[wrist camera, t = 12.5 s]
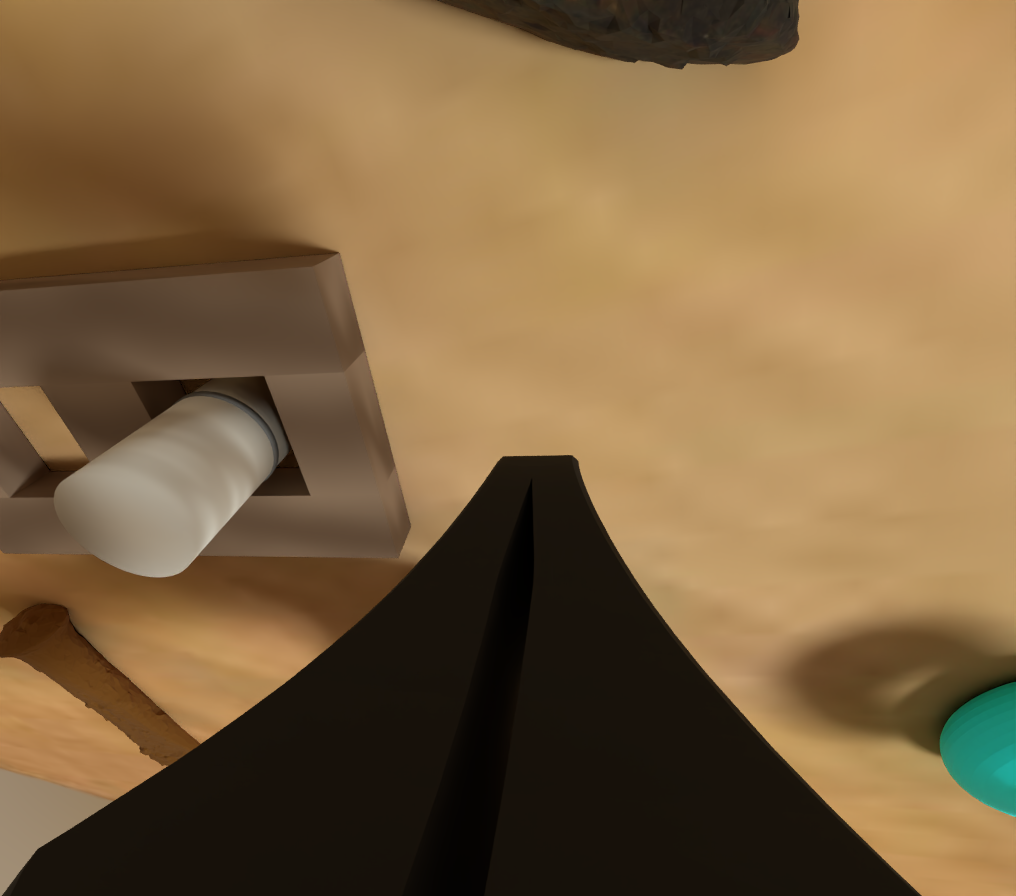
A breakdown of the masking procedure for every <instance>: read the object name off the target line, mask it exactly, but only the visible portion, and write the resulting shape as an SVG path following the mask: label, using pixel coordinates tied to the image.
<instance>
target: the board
mask: <svg viewBox="0 0 1016 896" xmlns="http://www.w3.org/2000/svg"><path fill="white" fill-rule="evenodd" d="M249 376H264V377H265V379H266V382H267V385H268V387H269V390H270V392H271V395H272V397H273V400H274V403H275V405H276V408H277V410H278V413H279V415H280V418H281V421H282V423H283V426H284V428H285V431H286V434H287V436H288V439H289V441H290V444H291V446H292V449H293V452H294V454H295V457H296V459H297V462H298V464H299V467H300V468H276V469H275V470H274V472H273V473H272V474H271V475H270V476H269V478H268V479H266V480H265V481H264V482H263V483H261V485H260V486H259V487H258V488H257V489H256V490H255V491H254V492H253V494H252V495H251V496H250V497H249V498H248V499H247V500H246V501H245V503H244V504H243V505H242V506H241V507H240V508H239V509H238V510H237V512H236V513H235V514H234V515H233V516H232V517H231V518H230V520H229V521H228V522H227V523H226V524H225V525H224V526H223V527H222V529H221V530H220V531H219V532H218V533H217V534H216V535H215V536H214V538H213V539H212V540H211V541H210V542H209V543H208V544H207V545H206V547H205V548H204V549H203V550H202V551H201V552H200V553H199V554H198V556H261V557H343V558H399V555H400V553H401V550H402V548H403V545H404V543H405V540H406V538H407V535H408V533H409V531H410V528H411V525H410V521H409V517H408V513H407V509H406V506H405V502H404V498H403V494H402V490H401V486H400V483H399V479H398V475H397V471H396V467H395V463H394V460H393V456H392V452H391V448H390V444H389V440H388V437H387V433H386V429H385V425H384V421H383V417H382V414H381V410H380V406H379V402H378V398H377V394H376V391H375V387H374V383H373V379H372V375H371V371H370V368H369V364H368V360H367V356H366V352H365V349H364V345H363V341H362V337H361V333H360V329H359V326H358V322H357V318H356V314H355V310H354V306H353V303H352V299H351V295H350V291H349V287H348V283H347V280H346V276H345V272H344V268H343V264H342V260H341V257H340V253H333V254H320V255H308V256H296V257H283V258H271V259H259V260H246V261H234V262H222V263H209V264H197V265H185V266H173V267H160V268H148V269H136V270H123V271H111V272H99V273H86V274H74V275H62V276H49V277H37V278H25V279H12V280H0V388H2V387H25V386H40V387H41V388H42V390H43V391H44V393H45V394H46V396H47V397H48V399H49V400H50V402H51V404H52V405H53V407H54V408H55V410H56V411H57V413H58V414H59V416H60V417H61V419H62V420H63V422H64V423H65V425H66V426H67V428H68V429H69V431H70V432H71V434H72V435H73V437H74V438H75V440H76V441H77V443H78V444H79V446H80V447H81V449H82V450H83V452H84V454H85V455H86V457H87V458H88V460H89V461H90V462H91V461H92V460H94V459H95V458H97V457H98V456H100V455H101V454H103V453H104V452H106V451H107V450H109V449H110V448H111V447H113V446H114V445H116V444H117V443H119V442H120V441H122V440H123V439H125V438H126V437H128V436H129V435H131V434H132V433H133V432H135V431H136V430H138V429H139V428H141V427H142V426H144V425H145V424H147V423H148V422H150V421H151V420H153V419H154V418H155V417H157V416H158V415H160V414H161V413H163V412H164V411H166V410H167V409H169V408H170V407H171V406H172V405H173V404H174V403H175V402H176V401H178V400H179V399H181V398H182V397H184V396H185V395H186V394H185V392H184V390H183V388H182V386H181V383H180V381H179V380H182V379H204V378H227V377H249ZM75 472H76V471H54V472H50V470H49V469H48V468H47V466H46V465H45V463H44V462H43V461H42V459H41V458H40V456H39V455H38V454H37V452H36V451H35V450H34V448H33V447H32V445H31V444H30V443H29V441H28V440H27V438H26V437H25V436H24V434H23V433H22V432H21V430H20V429H19V427H18V426H17V425H16V423H15V422H14V420H13V419H12V418H11V416H10V415H9V414H8V412H7V411H6V409H5V408H4V407H3V405H2V404H1V402H0V550H1V551H2V552H3V553H15V554H92V553H90V552H89V551H88V550H86V549H85V548H84V547H83V546H81V545H80V544H79V543H78V542H77V541H76V540H75V539H74V538H73V537H72V536H71V535H70V534H69V533H68V531H67V530H66V529H65V527H64V526H63V525H62V523H61V521H60V519H59V518H58V515H57V513H56V510H55V506H54V493H55V490H56V488H57V486H58V485H59V484H60V483H61V482H62V481H63V480H65V479H66V478H67V477H69V476H70V475H72V474H73V473H75Z"/></svg>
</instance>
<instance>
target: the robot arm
mask: <svg viewBox="0 0 1016 896" xmlns="http://www.w3.org/2000/svg"><path fill="white" fill-rule="evenodd" d="M2 896H921V895H920V894H919V893H918V892H917V891H916V890H915V889H914V888H913V887H912V886H911V885H910V884H909V883H908V882H907V881H906V880H904V879H903V878H902V877H901V876H900V875H899V874H898V873H897V872H896V871H895V870H894V869H893V868H892V867H891V866H890V865H889V864H888V863H887V862H886V861H885V860H884V859H883V858H882V857H881V856H880V855H879V854H877V853H876V852H875V851H874V850H873V849H872V848H871V847H870V846H869V845H868V844H867V843H866V842H865V841H864V840H863V839H862V838H861V837H860V836H859V835H858V834H857V833H856V832H855V831H854V830H853V829H852V828H851V827H850V826H849V825H848V824H847V823H846V822H845V821H844V820H843V819H842V818H841V817H840V816H839V815H838V814H837V813H836V812H835V811H834V810H833V809H832V808H831V807H830V806H829V805H828V804H827V803H826V802H825V801H824V800H823V799H822V798H821V797H820V796H819V795H818V794H817V793H816V792H815V791H814V790H813V789H812V788H811V787H810V786H809V785H808V784H807V783H806V782H805V780H804V779H803V778H802V777H801V776H800V775H799V774H798V773H797V772H796V771H795V770H794V769H793V768H792V767H791V766H790V765H789V764H788V763H787V762H786V761H785V760H784V759H783V758H782V757H781V756H780V755H779V754H778V753H777V752H776V751H775V750H774V748H773V747H772V746H771V745H770V744H769V743H768V742H767V741H766V740H765V739H764V737H763V736H762V735H761V734H760V733H759V732H758V731H757V730H756V728H755V727H754V726H753V725H752V724H751V723H750V722H749V721H748V719H747V718H746V717H745V716H744V715H743V714H742V713H741V712H740V710H739V709H738V708H737V707H736V706H735V705H734V704H733V703H732V702H731V700H730V699H729V698H728V697H727V696H726V695H725V694H724V693H723V691H722V690H721V689H720V688H719V687H718V686H717V685H716V684H715V682H714V681H713V680H712V679H711V678H710V677H709V676H708V675H707V673H706V672H705V671H704V670H703V669H702V668H701V666H700V665H699V664H698V663H697V661H696V660H695V659H694V658H693V656H692V655H691V654H690V653H689V651H688V650H687V649H686V648H685V646H684V645H683V644H682V643H681V641H680V640H679V639H678V638H677V636H676V635H675V634H674V633H673V631H672V630H671V629H670V627H669V626H668V625H667V623H666V622H665V620H664V619H663V618H662V616H661V615H660V614H659V612H658V611H657V610H656V608H655V607H654V606H653V604H652V603H651V601H650V600H649V599H648V597H647V596H646V594H645V593H644V591H643V590H642V588H641V587H640V585H639V584H638V582H637V581H636V579H635V578H634V576H633V575H632V573H631V572H630V570H629V568H628V567H627V565H626V564H625V562H624V561H623V559H622V557H621V556H620V554H619V552H618V551H617V549H616V547H615V546H614V544H613V542H612V540H611V539H610V537H609V535H608V533H607V531H606V529H605V527H604V525H603V524H602V522H601V520H600V518H599V516H598V514H597V512H596V510H595V508H594V506H593V504H592V502H591V499H590V497H589V495H588V492H587V490H586V487H585V485H584V482H583V479H582V476H581V473H580V469H579V464H578V460H577V459H575V458H574V457H573V456H572V455H559V456H503V457H502V458H501V459H500V460H499V461H498V462H497V464H496V465H495V467H494V468H493V470H492V471H491V472H490V474H489V475H488V477H487V478H486V480H485V481H484V483H483V484H482V485H481V487H480V488H479V489H478V491H477V492H476V494H475V495H474V496H473V498H472V499H471V500H470V502H469V503H468V504H467V506H466V507H465V508H464V509H463V511H462V512H461V513H460V514H459V516H458V517H457V518H456V519H455V521H454V522H453V523H452V524H451V526H450V527H449V528H448V529H447V531H446V532H445V533H444V534H443V535H442V537H441V538H440V539H439V540H438V541H437V542H436V543H435V545H434V546H433V547H432V548H431V549H430V550H429V551H428V552H427V554H426V555H425V556H424V557H423V558H422V559H421V560H420V561H419V562H418V564H417V565H416V566H415V567H414V568H413V569H412V570H411V571H410V572H409V573H408V574H407V576H406V577H405V578H404V579H403V580H402V581H401V582H400V583H399V584H398V585H397V586H396V587H395V588H394V589H393V590H392V591H391V592H390V593H389V594H388V595H387V596H386V597H385V598H384V599H383V600H381V601H380V602H379V603H378V604H377V605H376V606H375V607H374V608H373V609H372V610H371V611H370V612H369V613H368V614H367V615H366V616H364V617H363V618H362V619H361V620H360V621H359V622H358V623H357V624H356V625H354V626H353V627H352V628H351V629H350V630H349V631H347V632H346V633H345V634H344V635H343V636H342V637H341V638H339V639H338V640H337V641H336V642H335V643H334V644H332V645H331V646H330V647H329V648H328V649H326V650H325V651H324V652H323V653H322V654H320V655H319V656H318V657H317V658H315V659H314V660H313V661H312V662H311V663H309V664H308V665H307V666H306V667H305V668H303V669H302V670H301V671H300V672H298V673H297V674H296V675H295V676H294V677H292V678H291V679H290V680H288V681H287V682H286V683H285V684H283V685H282V686H281V687H279V688H278V689H277V690H275V691H274V692H272V693H271V694H270V695H268V696H267V697H266V698H264V699H263V700H262V701H260V702H259V703H258V704H256V705H255V706H254V707H252V708H251V709H249V710H248V711H247V712H245V713H244V714H243V715H241V716H240V717H239V718H237V719H236V720H234V721H233V722H231V723H230V724H229V725H227V726H226V727H224V728H223V729H222V730H220V731H219V732H217V733H216V734H215V735H213V736H212V737H210V738H209V739H207V740H206V741H205V742H203V743H202V744H200V745H199V746H197V747H196V748H194V749H193V750H191V751H190V752H188V753H187V754H186V755H184V756H183V757H181V758H180V759H178V760H177V761H175V762H174V763H172V764H171V765H169V766H168V767H166V768H164V769H163V770H161V771H160V772H158V773H157V774H155V775H154V776H152V777H150V778H149V779H147V780H146V781H144V782H143V783H141V784H140V785H138V786H136V787H135V788H133V789H132V790H130V791H129V792H127V793H126V794H124V795H122V796H121V797H119V798H118V799H116V800H115V801H113V802H112V803H110V804H108V805H107V806H105V807H104V808H102V809H101V810H99V811H98V812H96V813H95V814H93V815H91V816H90V817H88V818H87V819H85V820H84V821H82V822H81V823H79V824H77V825H76V826H74V827H73V828H71V829H70V830H68V831H66V832H65V833H63V834H61V835H60V836H58V837H57V838H55V839H53V840H52V841H50V842H48V843H47V844H45V845H44V846H42V847H40V848H39V849H37V851H36V852H35V853H34V855H33V856H32V857H31V859H30V860H29V861H28V862H27V863H26V865H25V866H24V867H23V869H22V870H21V871H20V872H19V874H18V875H17V876H16V878H15V879H14V880H13V882H12V883H11V884H10V886H9V887H8V888H7V890H6V891H5V892H4V894H3V895H2Z"/></svg>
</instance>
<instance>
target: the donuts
mask: <svg viewBox="0 0 1016 896" xmlns="http://www.w3.org/2000/svg"><path fill="white" fill-rule="evenodd" d="M940 753H941V756H942V759H943V762H944V765H945V766H946V768H947V770H948V772H949V773H950V775H951V776H952V777H953V778H954V780H955V781H956V782H957V783H958V784H959V785H960V786H961V787H962V788H963V789H964V790H965V791H967V792H968V793H969V794H970V795H972V796H973V797H975V798H976V799H978V800H979V801H981V802H983V803H984V804H986V805H988V806H990V807H992V808H994V809H996V810H999V811H1001V812H1004V813H1006V814H1009V815H1012V816H1015V817H1016V681H1015V682H1012V683H1009V684H1005V685H1002V686H999V687H997V688H994V689H992V690H989V691H987V692H985V693H983V694H981V695H979V696H977V697H975V698H973V699H972V700H970V701H968V702H967V703H965V704H964V705H963V706H961V707H960V708H959V709H958V710H957V711H955V712H954V713H953V714H952V715H951V717H950V718H949V719H948V721H947V722H946V724H945V726H944V728H943V730H942V733H941V736H940Z"/></svg>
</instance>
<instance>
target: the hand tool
mask: <svg viewBox="0 0 1016 896" xmlns="http://www.w3.org/2000/svg"><path fill="white" fill-rule="evenodd" d="M438 1H441V2H444V3H447V4H450V5H453V6H456V7H459V8H462V9H465V10H467V11H470V12H473V13H476V14H479V15H482V16H485V17H488V18H491V19H494V20H497V21H500V22H503V23H506V24H509V25H512V26H515V27H518V28H522V29H524V30H526V31H528V32H530V33H532V34H534V35H537V36H539V37H541V38H543V39H545V40H547V41H551V42H554V43H557V44H560V45H563V46H566V47H569V48H572V49H574V50H581V51H585V52H588V53H592V54H595V55H600V56H604V57H608V58H613V59H617V60H621V61H625V62H633V63H635V62H636V61H638V60H642V61H649V62H654V63H657V64H660V65H663V66H665V67H668V68H675V69H683V68H684V66H685V65H686V64H687V63H691V64H723V65H725V66H727V65H729V64H750V63H756V62H762V61H768V60H772V59H775V58H777V57H779V56H781V55H784V54H786V53H788V52H790V51H792V50H793V49H794V48H795V47H796V45H797V43H798V40H799V35H798V31H797V27H798V20H799V13H798V2H799V0H438Z"/></svg>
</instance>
